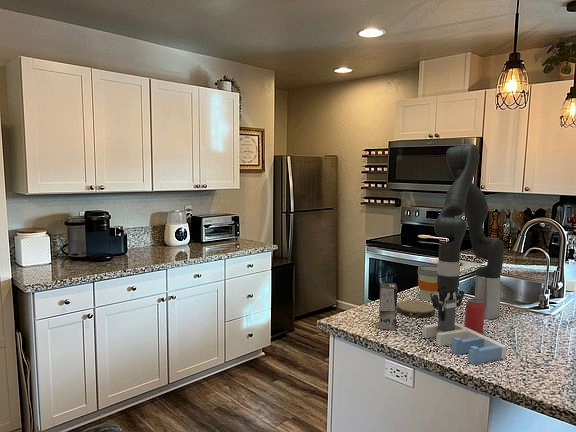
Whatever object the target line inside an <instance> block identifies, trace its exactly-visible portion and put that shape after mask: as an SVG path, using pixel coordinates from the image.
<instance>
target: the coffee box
mask: <svg viewBox="0 0 576 432" xmlns="http://www.w3.org/2000/svg"><path fill="white" fill-rule="evenodd" d="M379 284H380V285H379V310H378V311H379V314H378V315H379V316H378V319H379V320H378V327H379V329H381V330H391V331H396V330H397V329H396V328H397V313H398V312H397V303H398V285H397V283H393V282H379Z"/></svg>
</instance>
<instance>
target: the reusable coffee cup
mask: <svg viewBox="0 0 576 432" xmlns="http://www.w3.org/2000/svg"><path fill="white" fill-rule="evenodd" d="M437 267H438V265H430V264H422V265H419V266H418V268H417V275H418V276H417V277H418V278H417V282H418V283H417V284H418V288H419V298H420V299H421V300H423V301H426V302H432V300H431V296H430V294H431V293H433V294H434V293H436V292H437V289H438V285H437ZM438 297H439V296H438Z"/></svg>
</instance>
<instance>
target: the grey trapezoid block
mask: <svg viewBox="0 0 576 432" xmlns="http://www.w3.org/2000/svg"><path fill="white" fill-rule="evenodd" d="M440 300H441V299H440ZM441 301H442V302H444V301H443V300H441ZM441 307H442V304H441ZM455 308H456V299H448V300H446V305H445V310H444V311H445V315H444V321H441V320H439V318H438V317H437V318H438V319H437V324H438V330H440V331H442V332H447V331H453V330H455V322H456V313H455ZM456 309H457V308H456Z"/></svg>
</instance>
